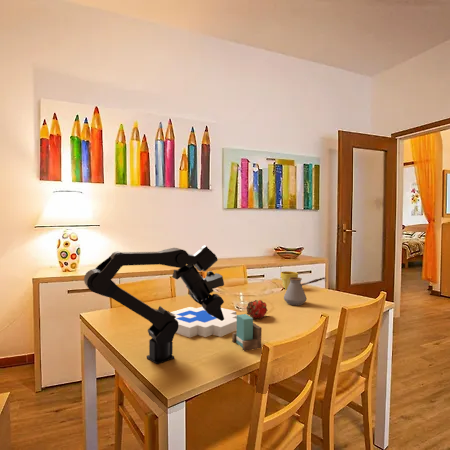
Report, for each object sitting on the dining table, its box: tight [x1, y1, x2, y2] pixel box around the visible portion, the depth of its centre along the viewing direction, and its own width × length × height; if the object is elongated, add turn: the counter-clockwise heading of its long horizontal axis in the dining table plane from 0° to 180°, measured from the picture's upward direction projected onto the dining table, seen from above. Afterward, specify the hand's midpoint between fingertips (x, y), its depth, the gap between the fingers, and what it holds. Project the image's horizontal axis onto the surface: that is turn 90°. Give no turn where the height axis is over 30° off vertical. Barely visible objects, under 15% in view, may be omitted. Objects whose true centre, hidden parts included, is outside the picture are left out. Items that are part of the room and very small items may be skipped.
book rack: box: [231, 322, 262, 352], centre depth 122 cm, size 6×9×7 cm
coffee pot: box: [283, 276, 327, 306], centre depth 175 cm, size 21×12×15 cm, turn 57°
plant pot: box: [280, 270, 299, 291], centre depth 211 cm, size 10×10×10 cm
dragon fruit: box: [246, 299, 269, 320], centre depth 154 cm, size 8×8×12 cm
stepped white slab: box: [169, 306, 238, 338], centre depth 143 cm, size 28×4×28 cm
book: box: [235, 313, 254, 349], centre depth 122 cm, size 4×6×10 cm, turn 24°
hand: (217, 315), depth 120 cm, fingers open, 9 cm apart
